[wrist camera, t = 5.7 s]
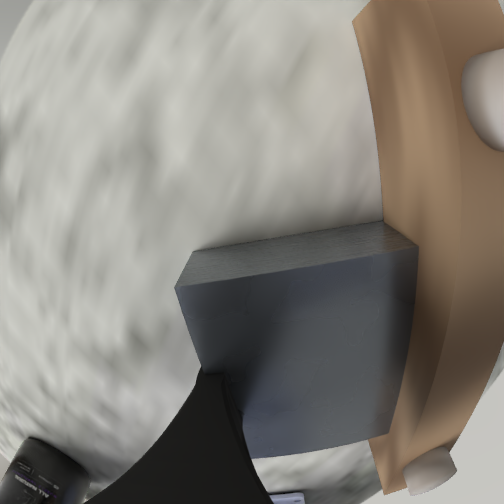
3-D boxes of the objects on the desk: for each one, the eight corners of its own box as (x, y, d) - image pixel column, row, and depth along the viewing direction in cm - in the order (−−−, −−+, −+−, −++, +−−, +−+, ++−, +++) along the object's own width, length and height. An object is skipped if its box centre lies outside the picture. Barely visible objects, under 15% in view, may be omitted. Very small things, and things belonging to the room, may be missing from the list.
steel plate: (373, 392, 12) (389, 433, 9) (242, 414, 12) (241, 459, 10) (381, 219, 9) (419, 246, 6) (193, 250, 9) (174, 287, 7)
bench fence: (408, 422, 12) (437, 496, 8) (366, 435, 13) (389, 514, 8) (419, 27, 6) (524, -22, 1) (352, 21, 6) (437, -65, 2)
